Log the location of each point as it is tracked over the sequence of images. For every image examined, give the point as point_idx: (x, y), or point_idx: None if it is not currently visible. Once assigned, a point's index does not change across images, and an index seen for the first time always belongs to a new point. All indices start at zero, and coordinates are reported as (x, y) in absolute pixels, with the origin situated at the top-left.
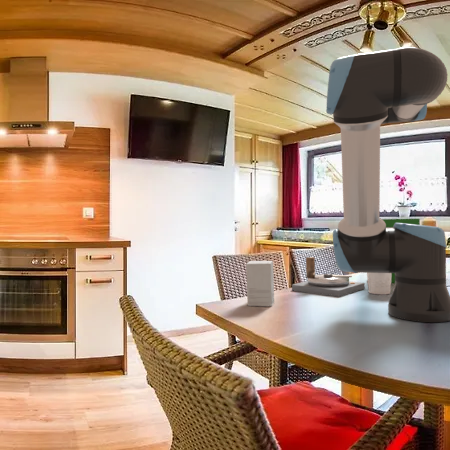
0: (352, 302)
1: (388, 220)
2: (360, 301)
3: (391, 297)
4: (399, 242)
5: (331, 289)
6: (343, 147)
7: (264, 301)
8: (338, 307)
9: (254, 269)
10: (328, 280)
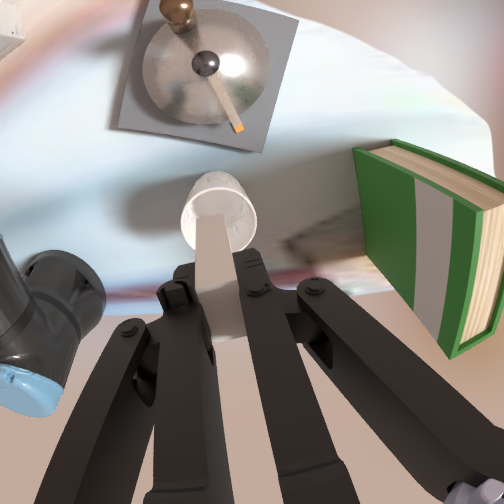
0: (82, 173)
1: (464, 283)
2: (99, 183)
3: (32, 270)
4: None
5: (122, 106)
6: None
7: None
8: (34, 167)
9: None
10: (145, 86)
